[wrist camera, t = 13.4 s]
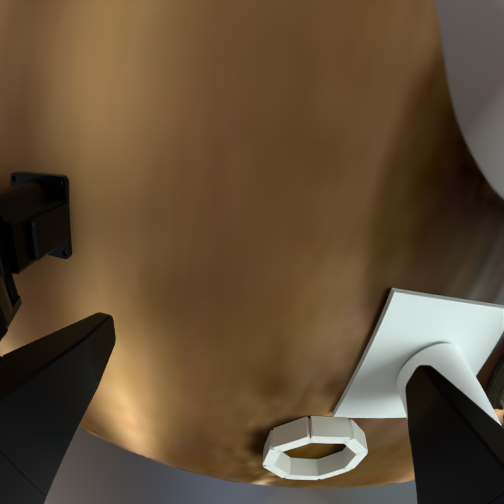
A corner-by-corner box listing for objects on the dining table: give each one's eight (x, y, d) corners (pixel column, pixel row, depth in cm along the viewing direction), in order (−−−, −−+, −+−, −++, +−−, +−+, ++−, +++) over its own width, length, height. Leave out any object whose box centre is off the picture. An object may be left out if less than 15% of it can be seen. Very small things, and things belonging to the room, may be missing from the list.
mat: (332, 412, 26) (333, 416, 25) (391, 287, 20) (394, 292, 19) (445, 410, 25) (446, 414, 25) (511, 306, 20) (514, 309, 19)
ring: (258, 459, 30) (257, 476, 28) (277, 412, 26) (276, 432, 24) (341, 463, 30) (342, 479, 28) (376, 418, 26) (381, 436, 24)
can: (430, 396, 24) (466, 496, 13) (381, 387, 23) (410, 507, 12) (471, 347, 21) (528, 448, 10) (423, 333, 21) (483, 457, 10)
